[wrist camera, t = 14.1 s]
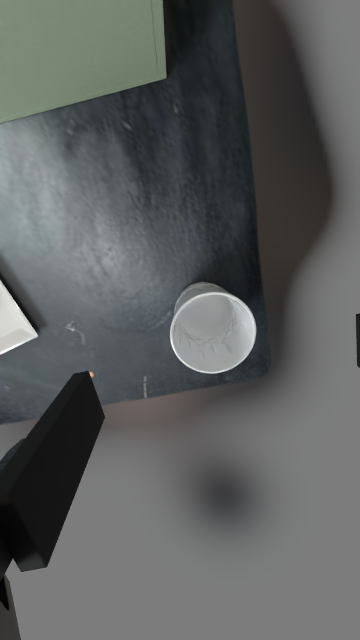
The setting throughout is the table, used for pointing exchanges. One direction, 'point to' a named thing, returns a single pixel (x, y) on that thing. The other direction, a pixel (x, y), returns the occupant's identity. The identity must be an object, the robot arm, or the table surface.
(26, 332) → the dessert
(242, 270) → the table surface
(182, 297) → the white cup
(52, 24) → the chest
